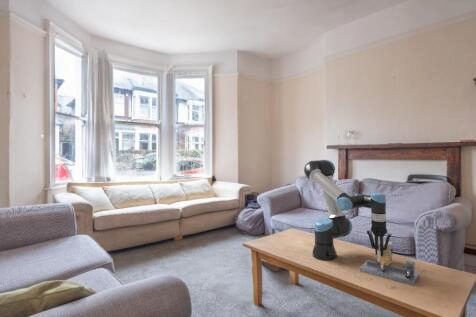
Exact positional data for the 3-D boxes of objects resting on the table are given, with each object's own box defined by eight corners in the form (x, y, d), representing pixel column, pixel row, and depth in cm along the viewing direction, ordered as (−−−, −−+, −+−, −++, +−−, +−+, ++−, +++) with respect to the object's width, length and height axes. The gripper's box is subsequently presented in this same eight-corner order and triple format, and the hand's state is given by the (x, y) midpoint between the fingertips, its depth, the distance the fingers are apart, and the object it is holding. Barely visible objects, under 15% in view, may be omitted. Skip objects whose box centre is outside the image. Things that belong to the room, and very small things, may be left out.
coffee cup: (395, 265, 157) (395, 245, 157) (378, 264, 159) (378, 244, 159) (390, 258, 166) (389, 239, 166) (373, 258, 168) (373, 239, 168)
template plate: (360, 271, 151) (359, 257, 151) (367, 263, 161) (366, 250, 161) (414, 285, 134) (413, 269, 134) (418, 275, 143) (418, 261, 143)
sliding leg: (378, 269, 148) (377, 259, 147) (381, 264, 153) (381, 255, 153) (386, 271, 145) (385, 261, 145) (389, 266, 151) (389, 256, 150)
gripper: (364, 219, 153) (365, 260, 154) (389, 223, 145) (390, 266, 145) (368, 217, 159) (369, 256, 160) (393, 220, 150) (394, 261, 151)
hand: (379, 260), depth 152 cm, fingers closed
